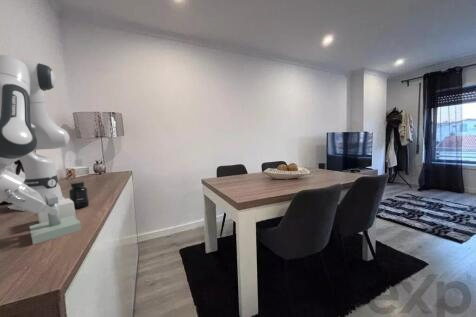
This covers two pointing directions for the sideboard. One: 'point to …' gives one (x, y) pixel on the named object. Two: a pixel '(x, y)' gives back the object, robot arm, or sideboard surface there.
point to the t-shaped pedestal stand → (54, 224)
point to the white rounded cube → (60, 210)
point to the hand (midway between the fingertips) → (53, 209)
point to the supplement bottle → (79, 195)
